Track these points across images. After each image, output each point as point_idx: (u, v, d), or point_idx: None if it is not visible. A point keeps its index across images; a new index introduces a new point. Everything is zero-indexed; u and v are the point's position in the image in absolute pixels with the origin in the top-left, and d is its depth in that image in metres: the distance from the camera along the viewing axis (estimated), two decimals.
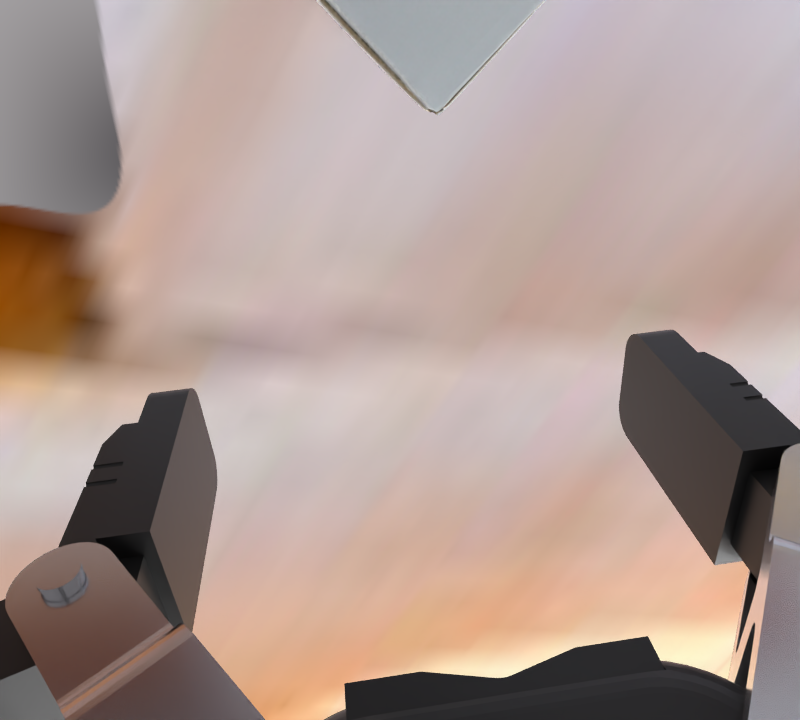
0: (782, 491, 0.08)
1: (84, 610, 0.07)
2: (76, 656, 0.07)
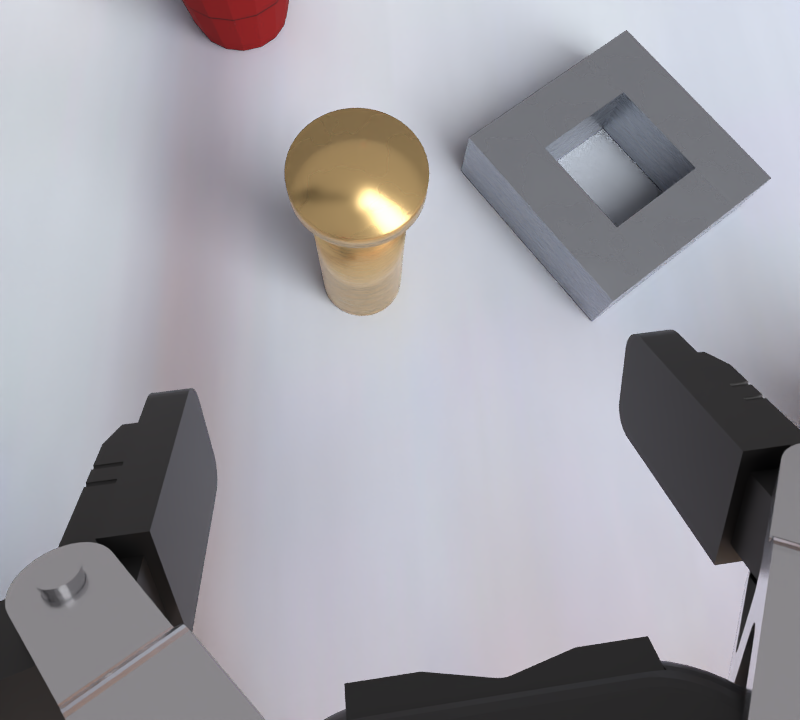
0: (782, 491, 0.08)
1: (85, 611, 0.07)
2: (76, 656, 0.07)
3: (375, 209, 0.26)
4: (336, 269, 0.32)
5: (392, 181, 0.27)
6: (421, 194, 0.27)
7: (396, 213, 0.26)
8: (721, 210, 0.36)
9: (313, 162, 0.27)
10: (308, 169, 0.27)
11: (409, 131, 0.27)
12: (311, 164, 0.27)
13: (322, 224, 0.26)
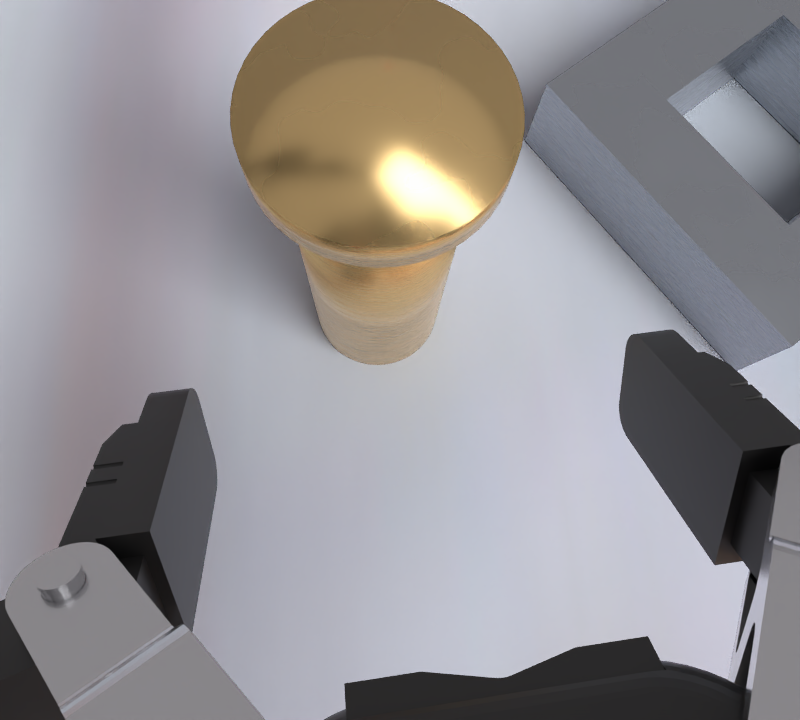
0: (782, 491, 0.08)
1: (85, 610, 0.07)
2: (76, 656, 0.07)
3: (417, 188, 0.13)
4: (337, 299, 0.18)
5: (451, 131, 0.13)
6: (511, 157, 0.13)
7: (461, 196, 0.13)
8: None
9: (289, 93, 0.13)
10: (279, 107, 0.13)
11: (482, 33, 0.14)
12: (285, 97, 0.13)
13: (307, 219, 0.12)
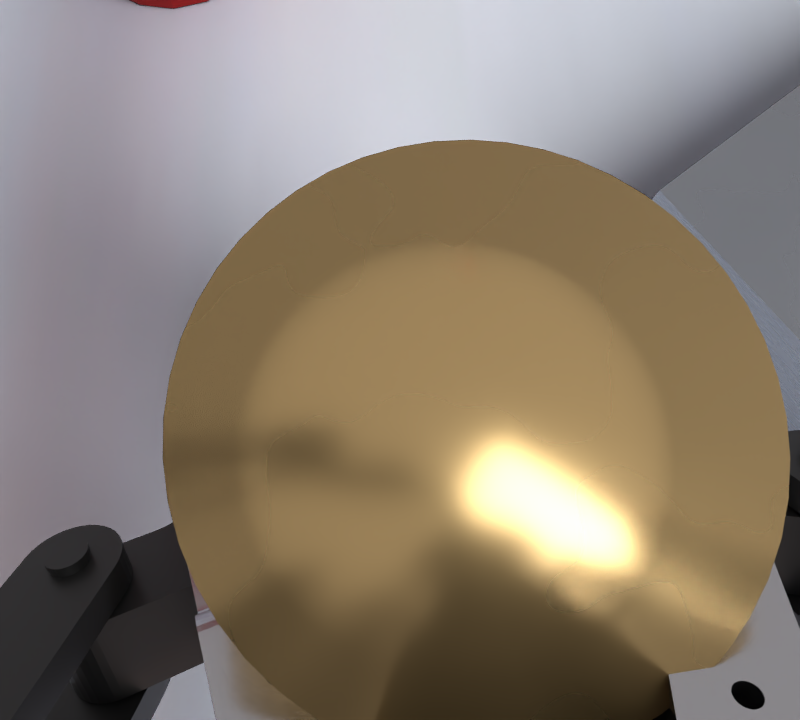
0: None
1: None
2: None
3: (573, 609, 0.06)
4: None
5: (636, 463, 0.06)
6: (769, 526, 0.06)
7: (668, 626, 0.06)
8: None
9: (291, 378, 0.06)
10: (269, 412, 0.06)
11: (683, 235, 0.07)
12: (282, 388, 0.06)
13: (330, 695, 0.06)
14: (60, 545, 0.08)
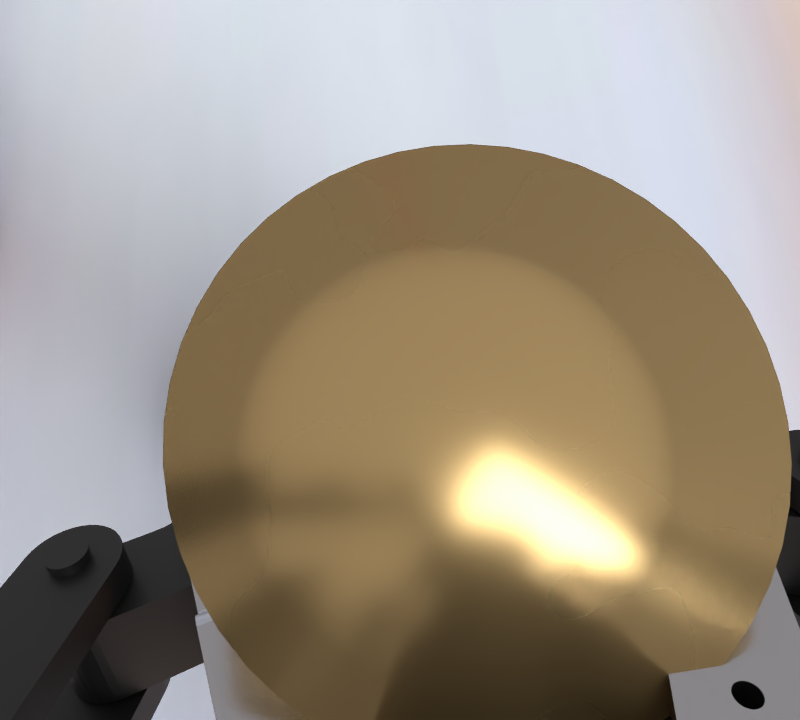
0: None
1: None
2: None
3: (574, 615, 0.06)
4: None
5: (637, 469, 0.06)
6: (770, 532, 0.06)
7: (670, 633, 0.06)
8: None
9: (291, 384, 0.06)
10: (269, 417, 0.06)
11: (684, 240, 0.07)
12: (283, 393, 0.06)
13: (331, 702, 0.06)
14: (59, 546, 0.08)
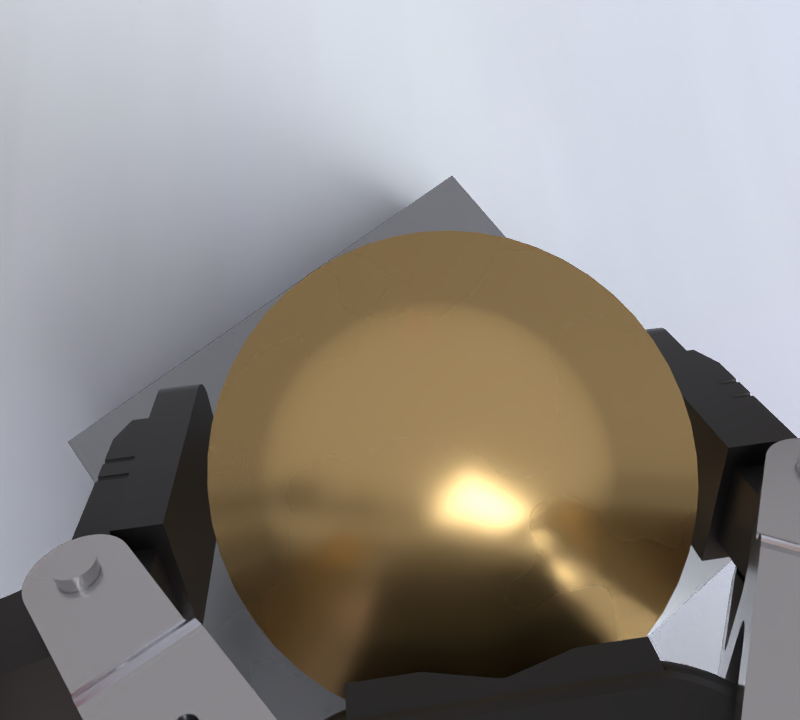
0: (766, 487, 0.08)
1: (98, 602, 0.07)
2: (93, 645, 0.07)
3: (525, 606, 0.07)
4: None
5: (577, 493, 0.08)
6: (680, 542, 0.08)
7: (599, 620, 0.07)
8: None
9: (307, 426, 0.08)
10: (289, 452, 0.08)
11: (619, 309, 0.08)
12: (300, 433, 0.08)
13: (338, 672, 0.07)
14: None
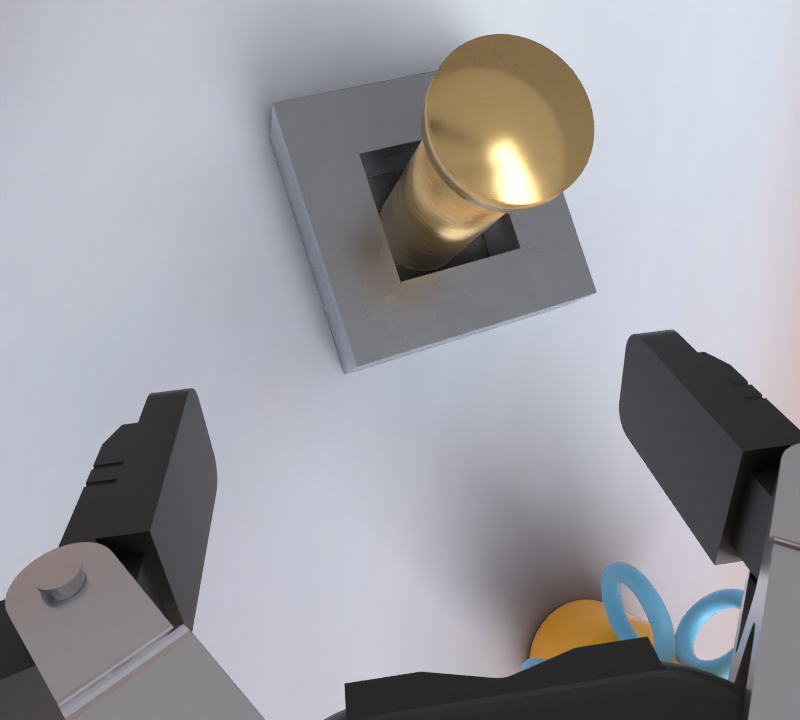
0: (782, 491, 0.08)
1: (85, 611, 0.07)
2: (76, 656, 0.07)
3: (519, 171, 0.22)
4: (420, 213, 0.27)
5: (548, 146, 0.22)
6: (574, 175, 0.22)
7: (540, 186, 0.22)
8: (526, 308, 0.30)
9: (468, 85, 0.22)
10: (460, 91, 0.21)
11: (585, 96, 0.22)
12: (465, 87, 0.22)
13: (455, 164, 0.21)
14: None
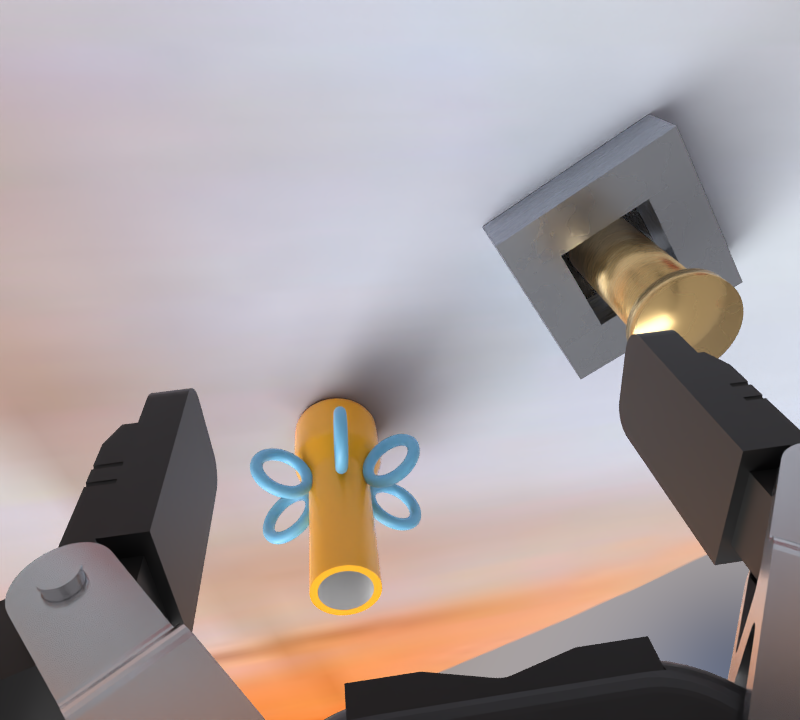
0: (782, 491, 0.08)
1: (85, 611, 0.07)
2: (76, 656, 0.07)
3: None
4: (614, 265, 0.38)
5: None
6: None
7: None
8: (560, 340, 0.44)
9: (704, 297, 0.33)
10: (700, 293, 0.33)
11: None
12: (703, 295, 0.33)
13: (652, 304, 0.33)
14: None
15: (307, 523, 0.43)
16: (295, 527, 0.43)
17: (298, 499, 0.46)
